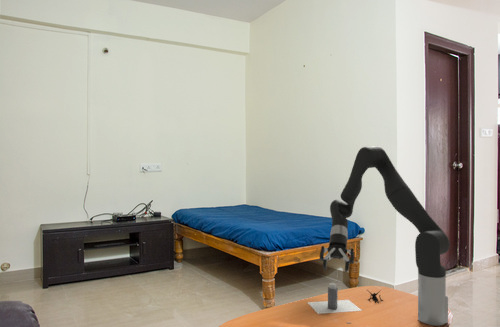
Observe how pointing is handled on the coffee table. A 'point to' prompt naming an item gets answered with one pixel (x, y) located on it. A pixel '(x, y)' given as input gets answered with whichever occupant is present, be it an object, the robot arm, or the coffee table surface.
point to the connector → (332, 296)
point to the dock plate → (342, 307)
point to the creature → (375, 297)
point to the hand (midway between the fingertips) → (335, 270)
